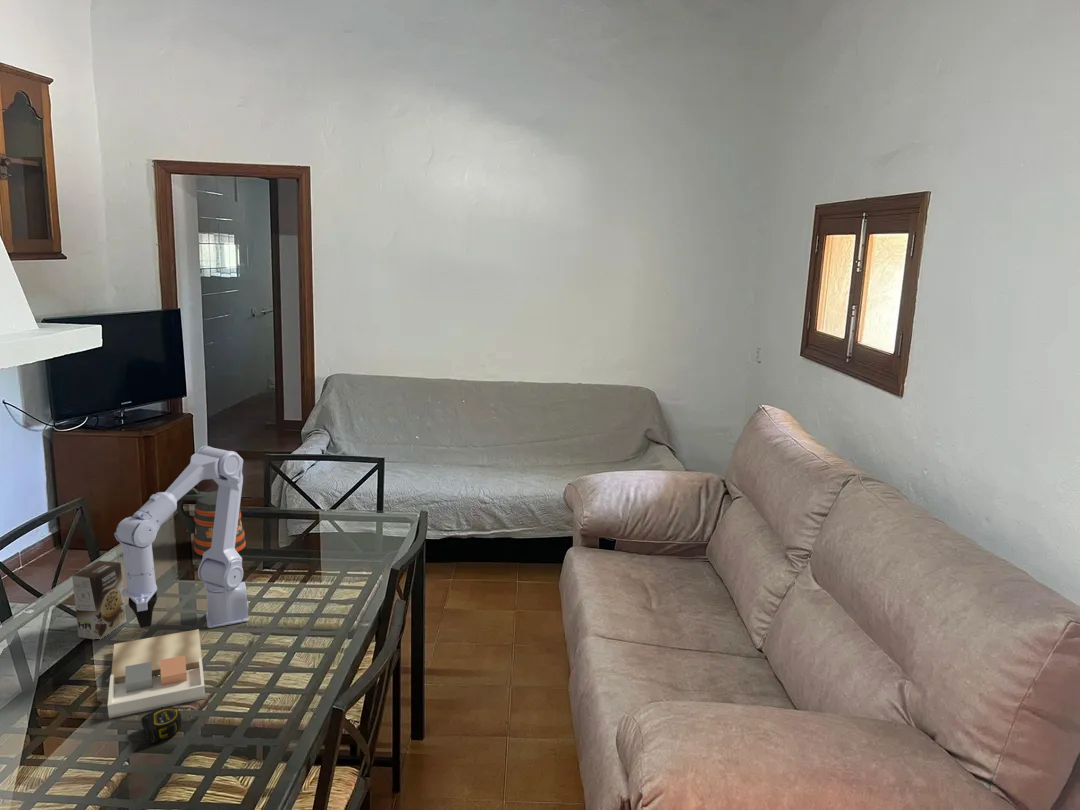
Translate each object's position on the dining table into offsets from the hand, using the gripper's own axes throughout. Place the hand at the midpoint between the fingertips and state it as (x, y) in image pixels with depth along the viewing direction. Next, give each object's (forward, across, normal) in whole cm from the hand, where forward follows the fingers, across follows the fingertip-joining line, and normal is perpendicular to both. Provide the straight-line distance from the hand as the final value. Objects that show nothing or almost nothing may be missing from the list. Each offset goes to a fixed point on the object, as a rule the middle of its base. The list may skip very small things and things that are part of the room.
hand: (145, 625), depth 181 cm
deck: (+9, +1, +2) cm, 9 cm away
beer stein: (+9, -60, +17) cm, 63 cm away
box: (+9, +15, +2) cm, 17 cm away
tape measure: (+9, +30, +2) cm, 31 cm away
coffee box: (+9, -19, -10) cm, 23 cm away
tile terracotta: (+7, +11, +5) cm, 14 cm away
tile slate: (+7, +11, -2) cm, 13 cm away
